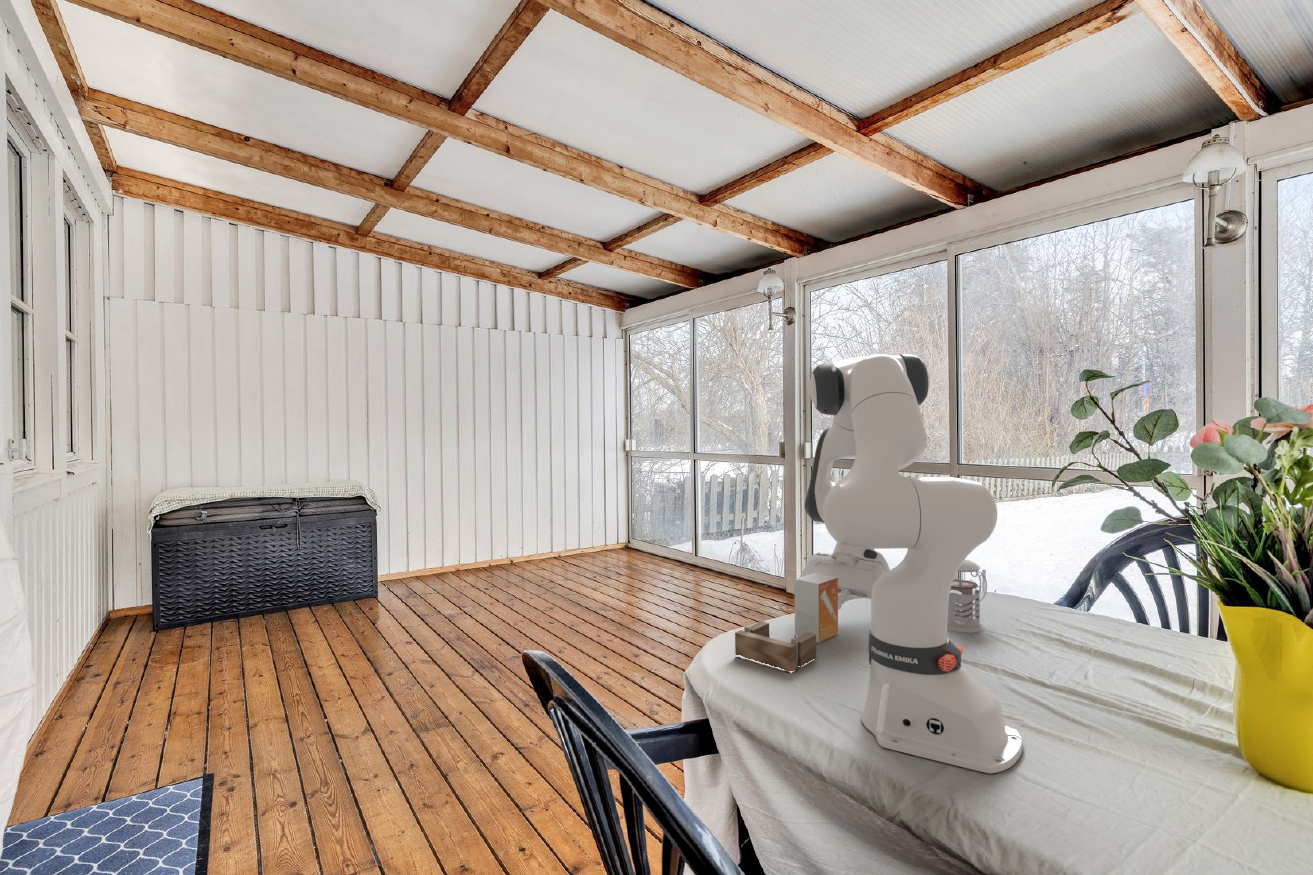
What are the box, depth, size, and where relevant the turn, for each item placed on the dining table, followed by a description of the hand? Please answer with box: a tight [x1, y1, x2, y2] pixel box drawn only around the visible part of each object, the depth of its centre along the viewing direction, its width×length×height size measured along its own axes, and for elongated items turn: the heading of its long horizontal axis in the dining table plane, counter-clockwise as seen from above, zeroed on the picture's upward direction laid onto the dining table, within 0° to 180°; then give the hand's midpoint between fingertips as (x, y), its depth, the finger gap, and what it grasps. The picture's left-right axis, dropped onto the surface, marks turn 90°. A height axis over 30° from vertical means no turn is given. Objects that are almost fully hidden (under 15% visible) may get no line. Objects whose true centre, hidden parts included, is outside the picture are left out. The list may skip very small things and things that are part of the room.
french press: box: [947, 559, 988, 634], centre depth 146 cm, size 10×12×25 cm
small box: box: [793, 573, 839, 644], centre depth 141 cm, size 8×6×13 cm
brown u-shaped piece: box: [734, 620, 817, 671], centre depth 129 cm, size 13×10×6 cm
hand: (832, 607), depth 146 cm, fingers closed
